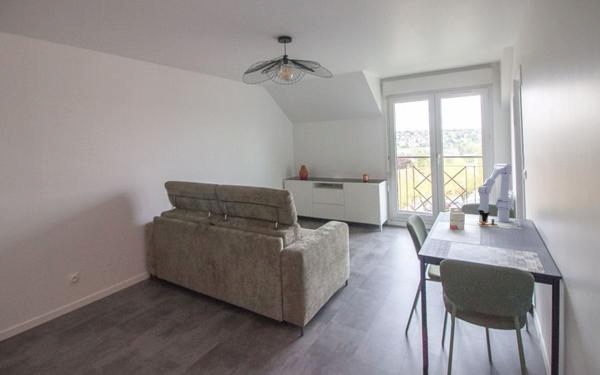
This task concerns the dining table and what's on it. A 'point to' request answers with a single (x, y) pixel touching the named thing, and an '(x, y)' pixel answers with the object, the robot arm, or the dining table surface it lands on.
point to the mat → (503, 224)
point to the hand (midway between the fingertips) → (483, 220)
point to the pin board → (488, 224)
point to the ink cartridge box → (457, 218)
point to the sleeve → (482, 220)
